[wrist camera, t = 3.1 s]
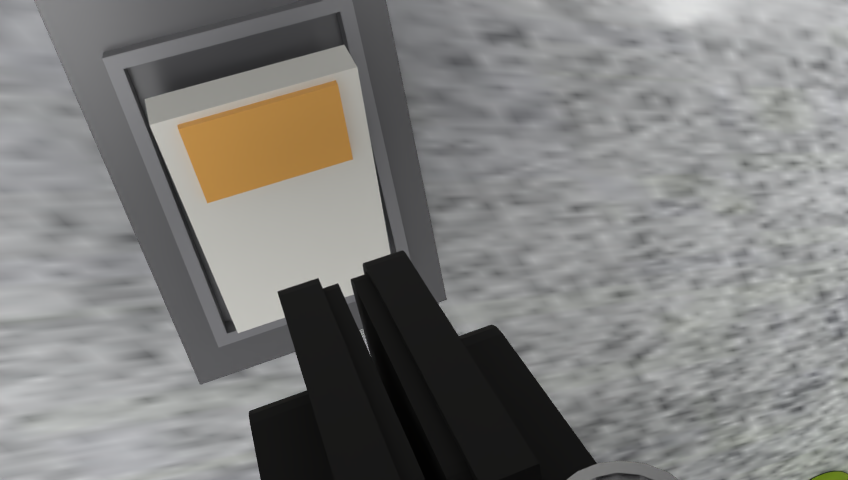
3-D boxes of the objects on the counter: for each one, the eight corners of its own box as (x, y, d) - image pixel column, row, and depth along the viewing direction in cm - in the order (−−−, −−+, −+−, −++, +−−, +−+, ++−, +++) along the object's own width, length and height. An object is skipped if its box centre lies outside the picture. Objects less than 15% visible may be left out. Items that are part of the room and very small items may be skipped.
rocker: (384, 256, 26) (397, 284, 25) (231, 306, 25) (239, 338, 24) (344, 44, 20) (359, 70, 19) (144, 99, 19) (150, 129, 18)
